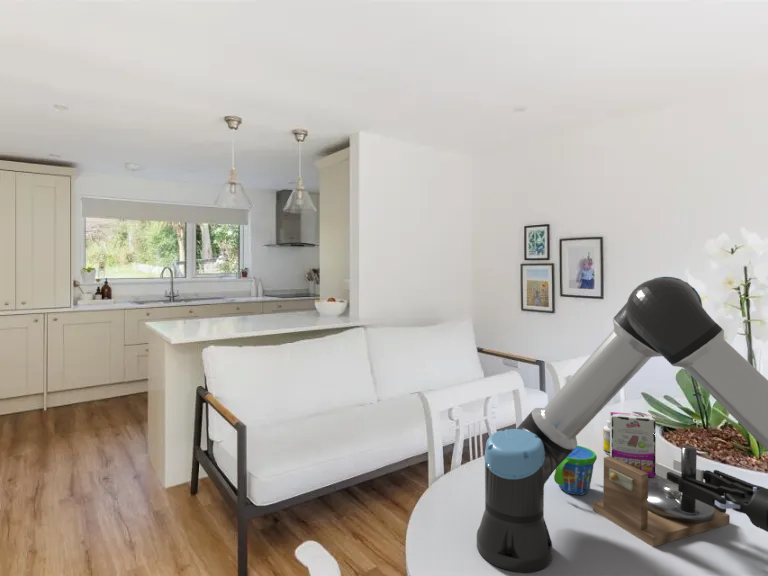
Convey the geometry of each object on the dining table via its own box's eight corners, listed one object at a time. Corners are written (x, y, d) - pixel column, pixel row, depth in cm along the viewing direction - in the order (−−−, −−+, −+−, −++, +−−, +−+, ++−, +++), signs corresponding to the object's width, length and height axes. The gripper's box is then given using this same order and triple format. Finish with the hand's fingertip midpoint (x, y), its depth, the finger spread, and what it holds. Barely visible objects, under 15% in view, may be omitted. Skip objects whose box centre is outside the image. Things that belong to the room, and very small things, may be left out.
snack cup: (573, 474, 130) (574, 439, 130) (609, 489, 122) (609, 451, 121) (537, 489, 122) (538, 451, 121) (573, 506, 113) (574, 465, 113)
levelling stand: (647, 548, 96) (648, 482, 95) (588, 511, 110) (588, 453, 110) (729, 523, 105) (730, 463, 104) (664, 492, 120) (665, 439, 119)
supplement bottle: (613, 449, 149) (613, 417, 148) (627, 455, 143) (627, 423, 143) (599, 451, 147) (599, 419, 146) (612, 457, 142) (613, 425, 141)
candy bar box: (652, 471, 132) (653, 414, 132) (655, 478, 127) (656, 420, 127) (609, 465, 136) (609, 410, 135) (611, 472, 131) (611, 415, 131)
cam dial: (629, 487, 117) (630, 425, 116) (693, 492, 115) (694, 428, 114) (654, 519, 102) (655, 448, 102) (728, 525, 100) (730, 452, 99)
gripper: (750, 546, 82) (637, 489, 104) (811, 526, 89) (692, 476, 110) (751, 505, 82) (637, 456, 104) (812, 488, 88) (693, 445, 110)
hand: (666, 466), depth 107 cm, fingers open, 5 cm apart
